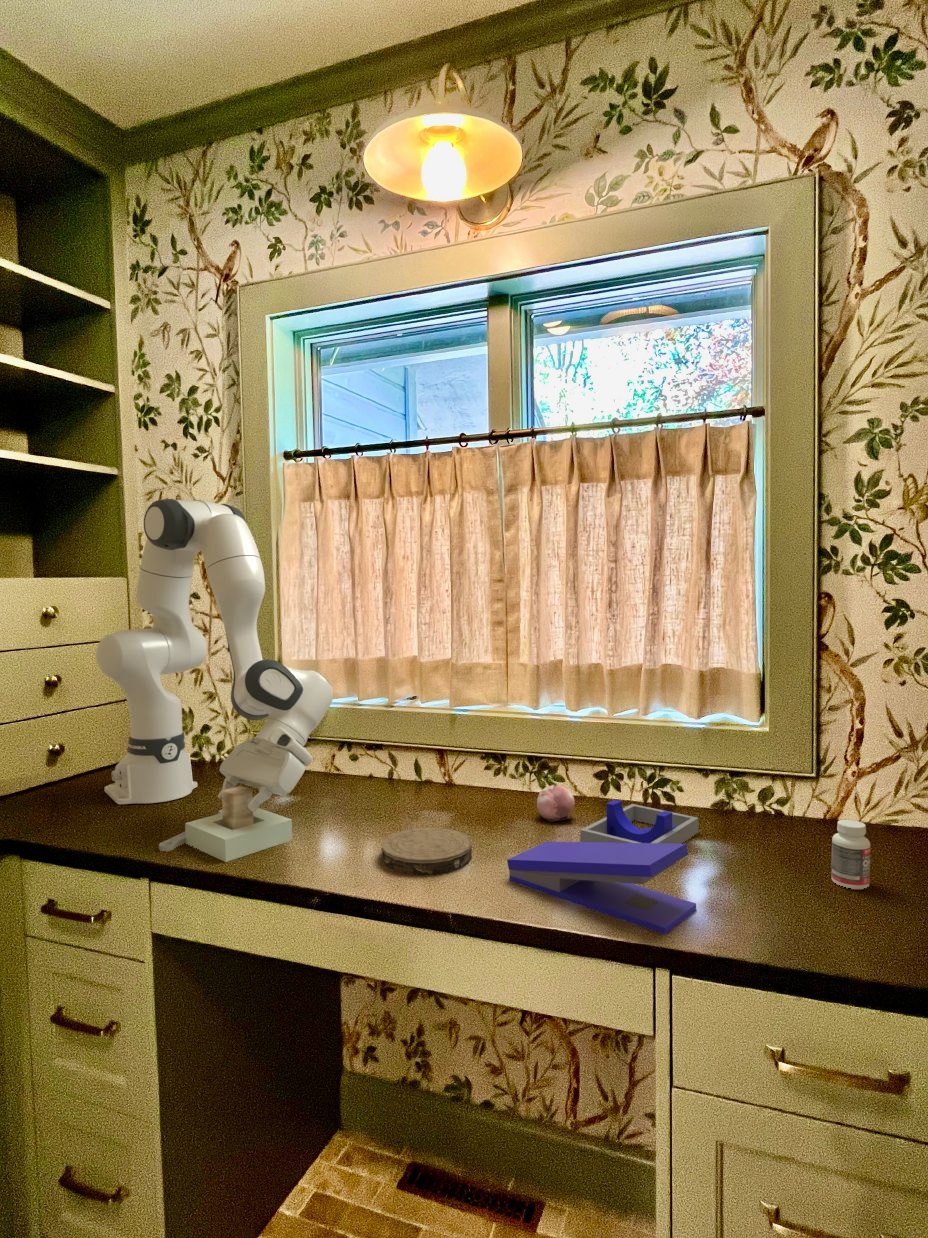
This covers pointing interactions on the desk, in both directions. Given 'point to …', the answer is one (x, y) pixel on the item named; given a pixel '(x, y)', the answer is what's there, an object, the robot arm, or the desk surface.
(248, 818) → the wooden block
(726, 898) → the desk surface
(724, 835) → the desk surface
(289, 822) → the pale green square frame
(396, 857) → the wood slice
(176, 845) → the adjustable wrench
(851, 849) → the pill bottle
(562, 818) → the onion
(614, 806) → the blue cradle holder
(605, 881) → the stapler
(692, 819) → the clip corral
